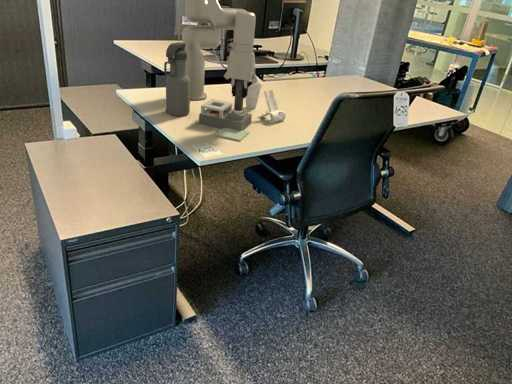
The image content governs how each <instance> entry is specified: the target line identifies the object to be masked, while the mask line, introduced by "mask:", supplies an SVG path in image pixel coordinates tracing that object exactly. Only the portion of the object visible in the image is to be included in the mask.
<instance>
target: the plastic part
mask: <svg viewBox="0 0 512 384" xmlns="http://www.w3.org/2000/svg"><path fill="white" fill-rule="evenodd" d="M263 92H264V97H265V100H266V104H267V108H268V111H266V112H265V114H264V113H261V115H260V116H258V117H256V118H258V119H262V118H264V117H267V116H270V119H271V120H268V121H267V122H268V123H269V124H274V123H280V122H282V121H284V120H285V119H286V113H285V111H284V110H283V109H279V107H278V103H277V100H276V98H275V93H274V89H269V90H265V91H263Z"/></svg>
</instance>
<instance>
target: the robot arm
mask: <svg viewBox="0 0 512 384" xmlns="http://www.w3.org/2000/svg"><path fill="white" fill-rule="evenodd" d="M219 1H220V0H184V4H185V5H184V10H185V18H186V20H187V21H189V22H191V23H200V24H201V23H202V24H203V23H205V24H207V25H189V26H185V27H184V28H183V30H182V33H181V39H182V43H186V47H185V51H186V52H187V70H186V75H187V76H188V77H189V78H190V101H200V100H206V99H207V97H208V95H207V93H206V92H205V91H204V90H205V73H206V72H205V71H206V69H205V67H206V60H205V56H204V54H203V52H202V50H201V49H216V48H218V47H219V46H221V45H220V44H221V40H222V31H233V40H232V42H229V47H231V48H232V49H231V50H230V52H229V54H228V55H229V56H228V58H227V59H228V60H227V64H226V65H227V67H226V72H225V73H224V75H223V78H225V79H226V80H228V82H229V84H230V85H231V94H232V95H231V97H233V98H235V88H236V79H238V80H244V88H243V91H242V98H243V100H244V99H245V97H246V96H247V94H248V87H249V86H250V85H252V84H254V83H256V82H258V80H257V78H256V76H257V75H256V58H255V57H256V55H255V52H254V42H255V31H256V30H255V29H256V23H257V22H256V19H257V18H256V14H255V13H254V12H252V11H247V10H245V9H243V8H233V7H221V5H220V3H219ZM251 79H253V80H252V81H250V80H251ZM249 81H250V82H249Z"/></svg>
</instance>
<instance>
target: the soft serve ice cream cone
mask: <svg viewBox="0 0 512 384" xmlns="http://www.w3.org/2000/svg"><path fill="white" fill-rule="evenodd" d="M256 78H257V80H258V82H256V83H254V84H252V85H250V86H249V87H248V94H247V96H246V97H245V98H244V99H245V106H246V107H245V108H246V109H249V110H255V109H256V107H257V104H258V101H259V98H260V93H261V89H262V87H263V82H262V80H261V79H260V78H259V76H257V75H256ZM252 80H253V79H251V80H250V81H252ZM250 81H249V82H250Z"/></svg>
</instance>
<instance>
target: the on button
mask: <svg viewBox="0 0 512 384" xmlns="http://www.w3.org/2000/svg"><path fill="white" fill-rule="evenodd" d="M242 111H244V109H243V110H242ZM242 111H237V110H233V113H235V114H240V115H241V114H242Z"/></svg>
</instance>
